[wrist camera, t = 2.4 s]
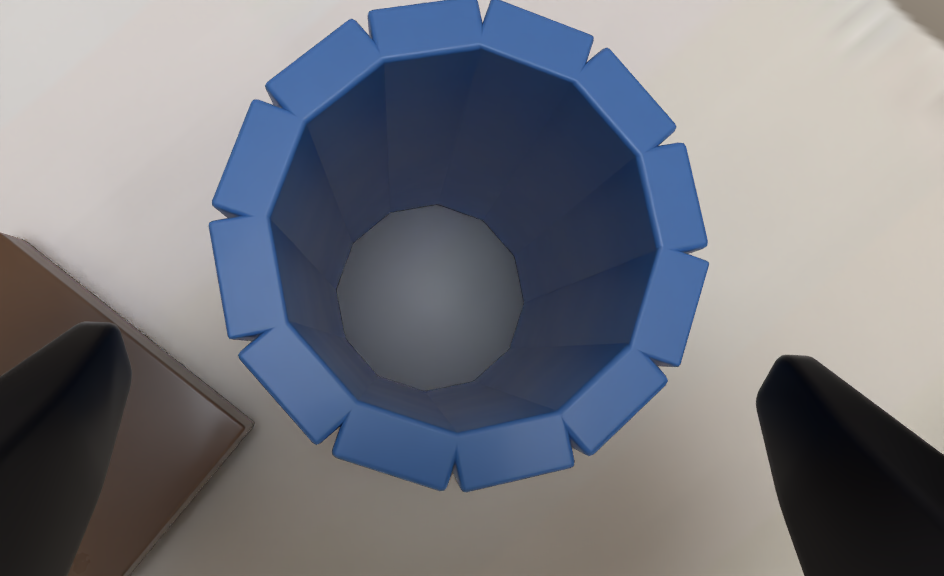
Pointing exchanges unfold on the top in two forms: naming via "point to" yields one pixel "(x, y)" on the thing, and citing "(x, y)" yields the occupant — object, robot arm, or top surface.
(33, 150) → the top surface
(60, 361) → the robot arm
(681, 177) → the blue ribbed vase
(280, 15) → the top surface
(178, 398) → the stand
